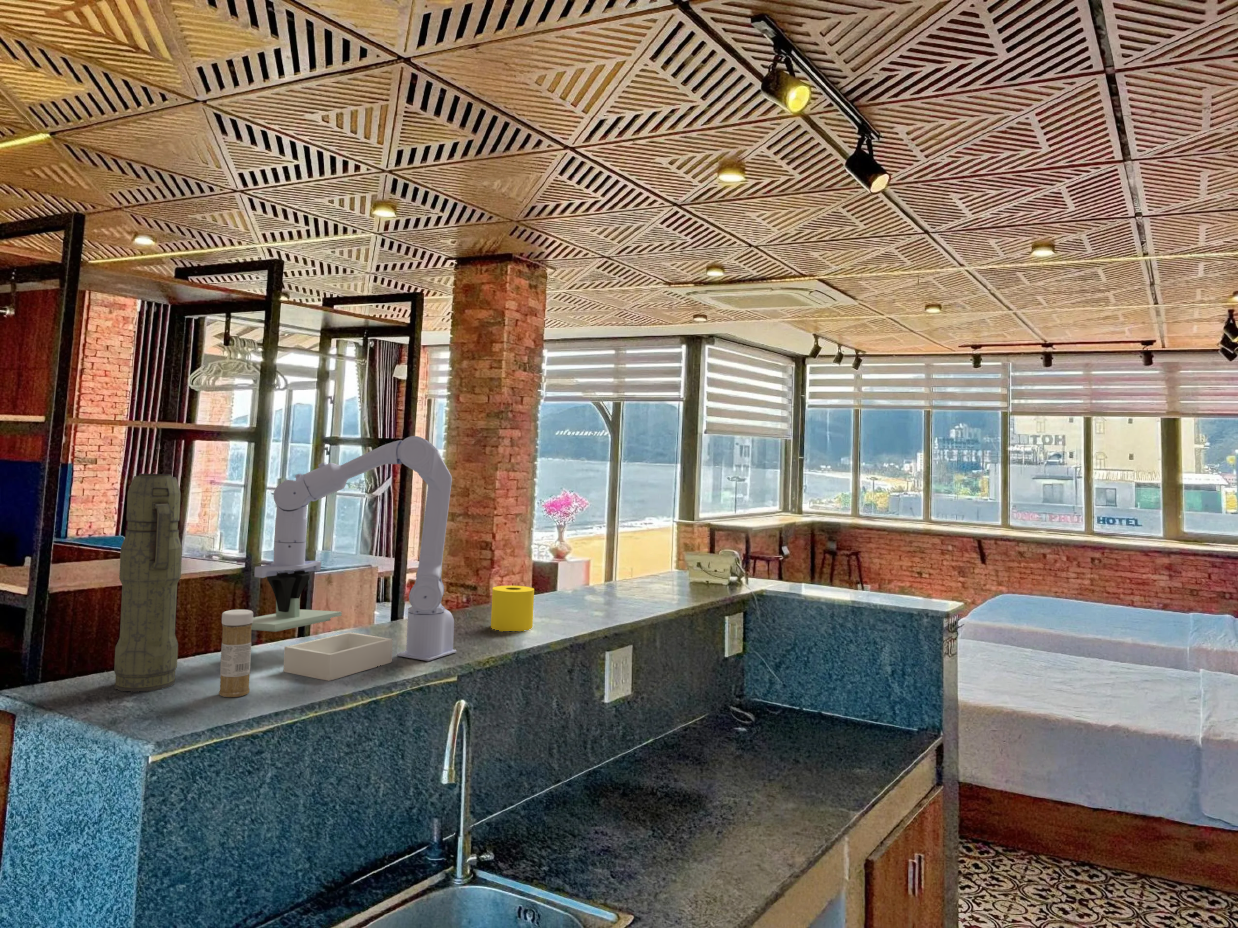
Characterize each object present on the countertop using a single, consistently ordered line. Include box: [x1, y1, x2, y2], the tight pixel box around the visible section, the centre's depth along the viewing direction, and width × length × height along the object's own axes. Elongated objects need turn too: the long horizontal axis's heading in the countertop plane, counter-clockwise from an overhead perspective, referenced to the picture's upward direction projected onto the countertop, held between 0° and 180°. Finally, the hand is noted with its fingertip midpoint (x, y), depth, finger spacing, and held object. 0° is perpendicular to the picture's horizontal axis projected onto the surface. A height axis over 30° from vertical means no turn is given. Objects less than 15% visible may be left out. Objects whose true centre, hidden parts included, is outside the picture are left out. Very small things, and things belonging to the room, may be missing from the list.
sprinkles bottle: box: [218, 609, 254, 698], centre depth 128 cm, size 5×5×14 cm
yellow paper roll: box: [490, 585, 535, 632], centre depth 190 cm, size 10×10×9 cm
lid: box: [251, 598, 343, 633], centre depth 154 cm, size 17×12×5 cm
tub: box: [283, 631, 394, 682], centre depth 147 cm, size 16×11×4 cm
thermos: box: [113, 473, 183, 693], centre depth 131 cm, size 9×12×35 cm
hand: (287, 610), depth 154 cm, fingers closed on lid
